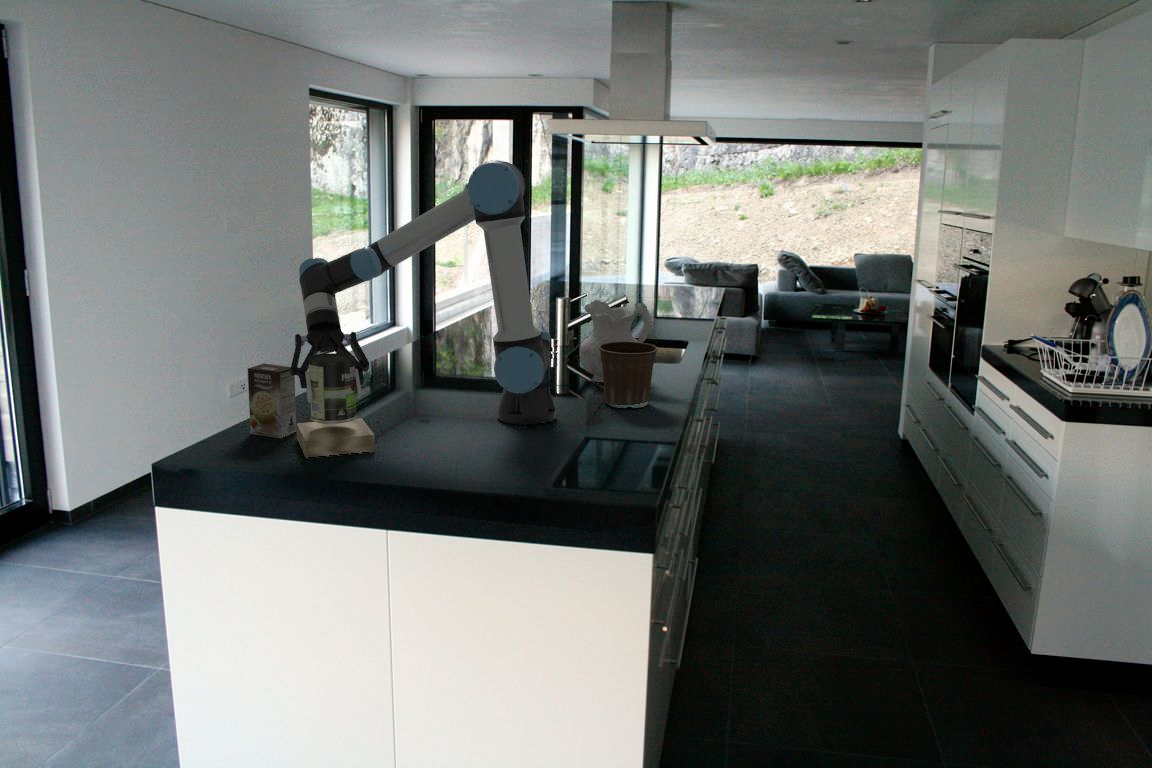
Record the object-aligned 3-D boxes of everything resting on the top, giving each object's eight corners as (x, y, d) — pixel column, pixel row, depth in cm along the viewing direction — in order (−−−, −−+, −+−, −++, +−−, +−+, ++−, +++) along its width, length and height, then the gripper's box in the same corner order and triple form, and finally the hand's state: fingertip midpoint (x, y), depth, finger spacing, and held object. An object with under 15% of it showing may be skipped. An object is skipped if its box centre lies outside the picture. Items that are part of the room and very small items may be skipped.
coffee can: (364, 414, 219) (362, 354, 216) (344, 425, 209) (343, 363, 206) (322, 410, 221) (320, 351, 218) (301, 422, 211) (299, 360, 208)
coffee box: (248, 434, 224) (245, 368, 220) (266, 427, 229) (262, 363, 226) (281, 439, 221) (278, 371, 217) (298, 432, 227) (295, 366, 223)
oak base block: (362, 434, 226) (361, 418, 225) (374, 451, 212) (374, 434, 211) (297, 440, 220) (296, 423, 219) (305, 458, 207) (305, 440, 206)
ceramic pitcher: (653, 381, 295) (657, 301, 291) (644, 390, 276) (648, 304, 272) (586, 376, 300) (588, 298, 296) (571, 385, 281) (574, 301, 277)
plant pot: (639, 414, 250) (641, 355, 246) (586, 406, 258) (587, 348, 254) (665, 402, 264) (667, 345, 260) (613, 394, 272) (615, 339, 268)
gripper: (368, 324, 229) (383, 402, 218) (270, 328, 220) (281, 410, 209) (372, 305, 223) (388, 385, 212) (272, 309, 214) (283, 392, 204)
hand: (335, 397), depth 211 cm, fingers closed on coffee can, 10 cm apart
